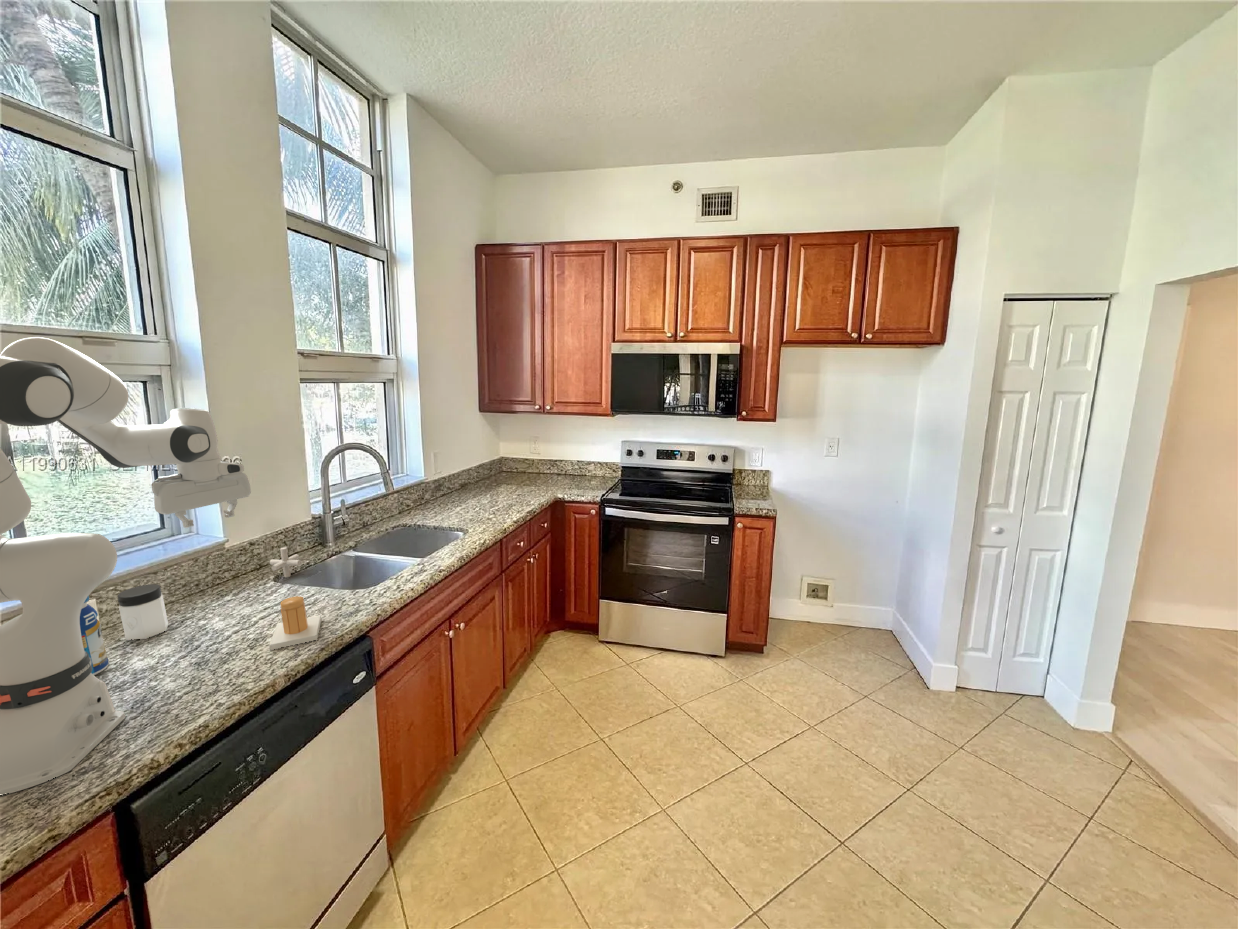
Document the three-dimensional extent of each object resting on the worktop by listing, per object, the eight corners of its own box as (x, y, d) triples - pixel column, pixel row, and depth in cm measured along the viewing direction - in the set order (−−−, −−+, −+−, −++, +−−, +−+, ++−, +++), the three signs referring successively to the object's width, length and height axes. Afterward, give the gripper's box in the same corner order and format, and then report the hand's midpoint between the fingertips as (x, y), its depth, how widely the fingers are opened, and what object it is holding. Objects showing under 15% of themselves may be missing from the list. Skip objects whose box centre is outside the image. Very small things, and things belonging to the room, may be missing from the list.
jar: (115, 642, 126) (105, 598, 124) (141, 626, 134) (132, 585, 132) (154, 639, 127) (145, 596, 125) (177, 623, 135) (169, 582, 133)
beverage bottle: (47, 680, 110) (26, 598, 107) (95, 659, 118) (77, 582, 114) (71, 687, 108) (50, 603, 104) (119, 665, 116) (101, 586, 112)
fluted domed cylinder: (306, 631, 127) (302, 602, 126) (283, 635, 125) (278, 606, 124) (308, 622, 132) (304, 594, 130) (286, 627, 129) (282, 598, 128)
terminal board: (317, 640, 126) (314, 618, 124) (270, 650, 121) (266, 627, 120) (321, 619, 136) (318, 599, 135) (278, 628, 132) (275, 607, 131)
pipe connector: (311, 570, 170) (308, 543, 168) (290, 583, 160) (285, 554, 158) (285, 570, 171) (281, 542, 169) (262, 582, 161) (257, 553, 159)
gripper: (157, 479, 116) (168, 535, 119) (250, 464, 135) (257, 512, 137) (143, 477, 119) (154, 532, 121) (236, 462, 137) (244, 510, 140)
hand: (209, 521), depth 129 cm, fingers open, 8 cm apart
